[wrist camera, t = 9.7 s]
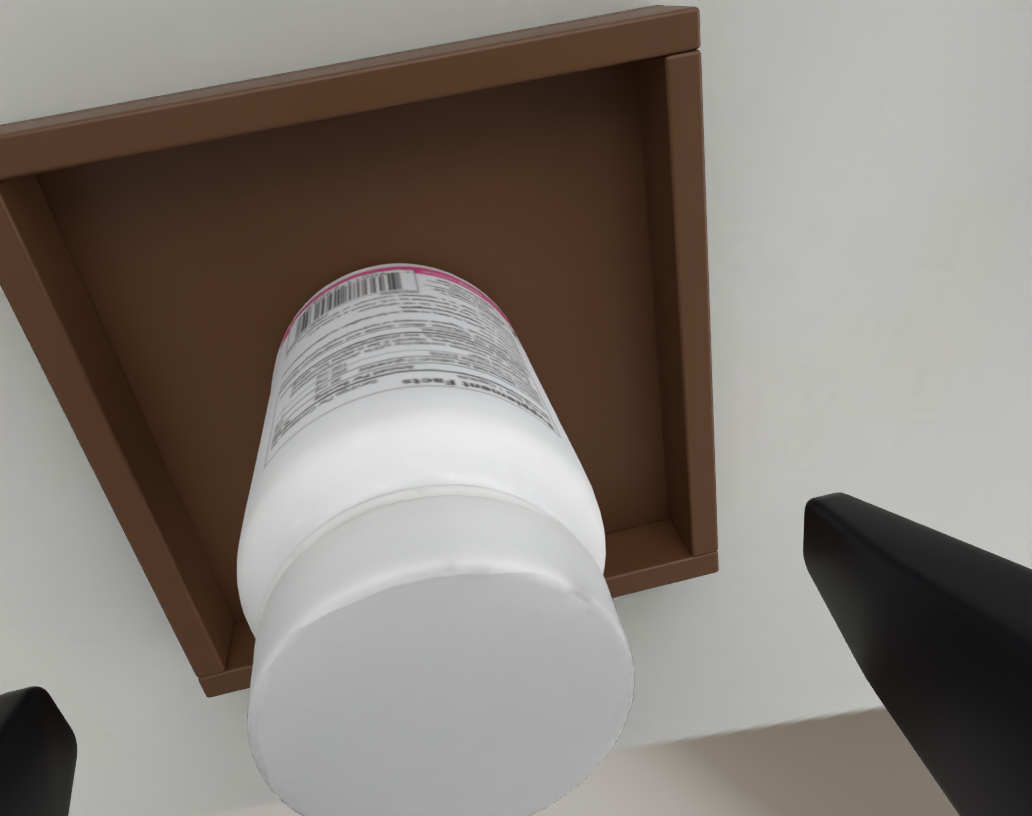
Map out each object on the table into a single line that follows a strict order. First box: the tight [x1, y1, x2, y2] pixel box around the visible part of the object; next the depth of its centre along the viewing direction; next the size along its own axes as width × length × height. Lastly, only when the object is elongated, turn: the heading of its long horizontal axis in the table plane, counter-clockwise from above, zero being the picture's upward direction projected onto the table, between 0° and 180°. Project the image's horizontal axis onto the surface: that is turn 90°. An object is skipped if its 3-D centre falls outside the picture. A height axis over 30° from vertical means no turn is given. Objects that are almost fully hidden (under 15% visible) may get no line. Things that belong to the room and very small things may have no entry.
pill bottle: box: [237, 263, 634, 816], centre depth 12 cm, size 5×5×8 cm
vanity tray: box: [0, 5, 719, 697], centre depth 15 cm, size 11×11×2 cm
